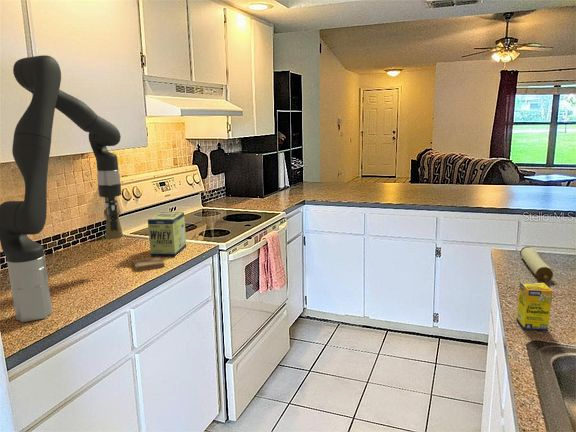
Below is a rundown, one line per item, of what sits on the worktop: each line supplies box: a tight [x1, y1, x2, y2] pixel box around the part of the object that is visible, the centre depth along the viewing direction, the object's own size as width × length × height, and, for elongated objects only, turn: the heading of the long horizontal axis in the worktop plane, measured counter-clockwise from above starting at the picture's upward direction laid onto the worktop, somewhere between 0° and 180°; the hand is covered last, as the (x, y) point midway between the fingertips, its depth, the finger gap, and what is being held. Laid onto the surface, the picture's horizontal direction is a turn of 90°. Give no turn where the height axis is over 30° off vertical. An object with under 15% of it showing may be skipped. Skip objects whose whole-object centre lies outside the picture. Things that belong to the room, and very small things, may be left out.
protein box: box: [147, 211, 187, 258], centre depth 189 cm, size 10×16×16 cm
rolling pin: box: [519, 246, 554, 282], centre depth 160 cm, size 32×6×5 cm, turn 164°
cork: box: [103, 207, 124, 240], centre depth 164 cm, size 6×6×11 cm
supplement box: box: [516, 281, 553, 332], centre depth 117 cm, size 6×6×11 cm
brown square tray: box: [132, 257, 165, 272], centre depth 173 cm, size 10×10×2 cm
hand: (113, 229), depth 165 cm, fingers closed on cork, 4 cm apart
